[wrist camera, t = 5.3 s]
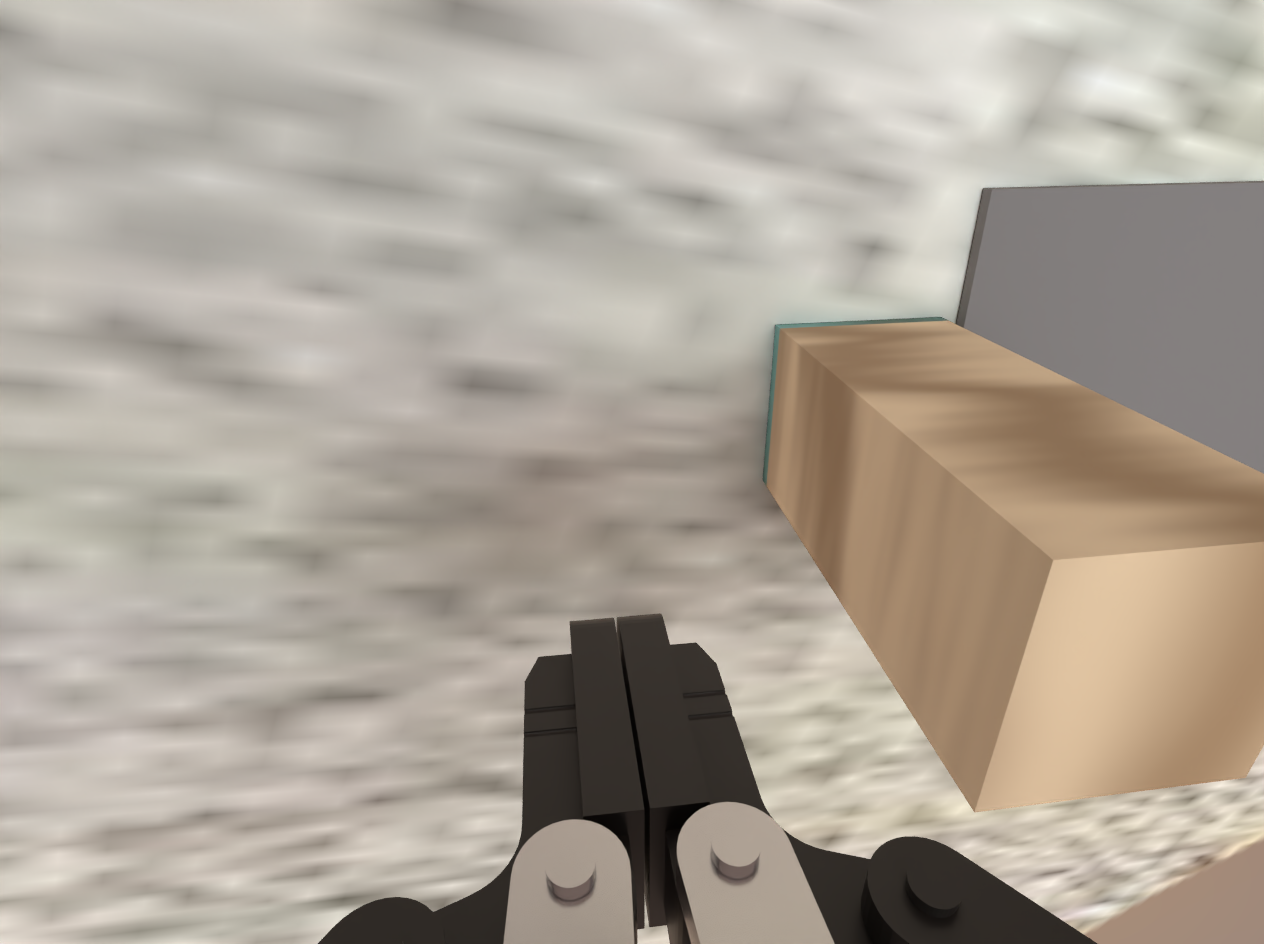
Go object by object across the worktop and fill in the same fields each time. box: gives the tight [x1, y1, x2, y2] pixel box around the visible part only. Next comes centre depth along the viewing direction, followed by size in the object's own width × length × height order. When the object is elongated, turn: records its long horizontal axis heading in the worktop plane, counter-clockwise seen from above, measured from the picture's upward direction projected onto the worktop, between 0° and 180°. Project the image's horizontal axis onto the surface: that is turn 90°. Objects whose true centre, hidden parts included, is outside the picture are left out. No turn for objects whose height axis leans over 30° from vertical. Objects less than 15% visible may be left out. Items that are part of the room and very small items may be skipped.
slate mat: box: [956, 181, 1264, 474], centre depth 22 cm, size 14×12×1 cm
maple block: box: [763, 317, 1264, 812], centre depth 16 cm, size 5×5×12 cm
